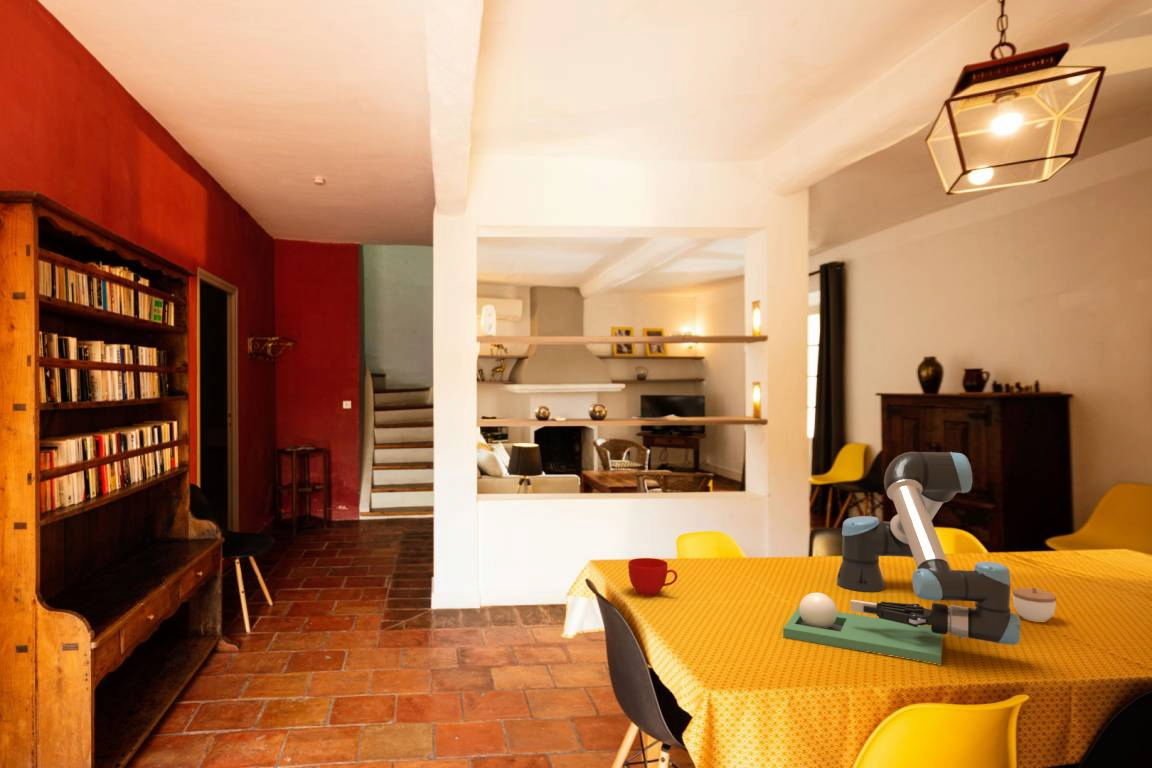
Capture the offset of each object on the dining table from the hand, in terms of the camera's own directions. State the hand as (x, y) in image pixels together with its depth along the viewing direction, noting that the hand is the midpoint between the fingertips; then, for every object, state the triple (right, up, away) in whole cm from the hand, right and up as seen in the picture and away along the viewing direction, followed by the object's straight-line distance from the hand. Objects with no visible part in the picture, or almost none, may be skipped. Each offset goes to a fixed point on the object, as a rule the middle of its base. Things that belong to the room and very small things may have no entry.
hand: (851, 605), depth 188 cm
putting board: (+3, -8, -1) cm, 9 cm away
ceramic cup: (-50, -8, +37) cm, 63 cm away
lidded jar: (+60, -9, +14) cm, 62 cm away
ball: (-8, -3, +4) cm, 9 cm away
